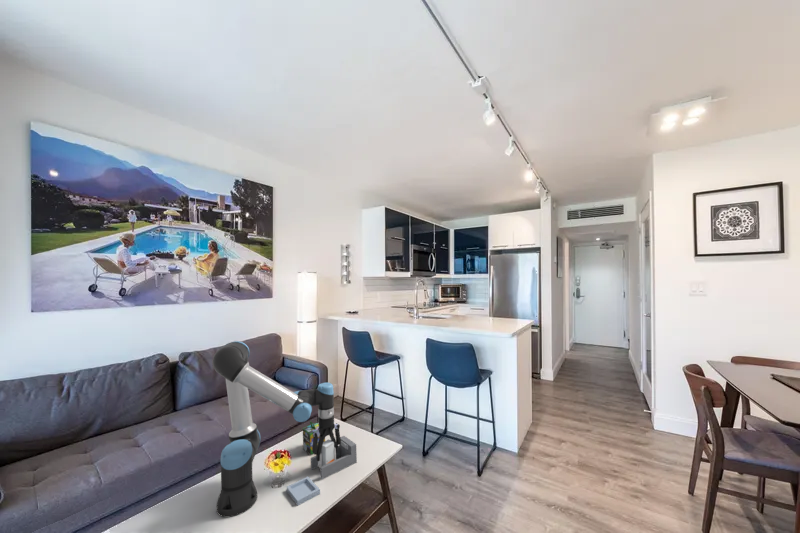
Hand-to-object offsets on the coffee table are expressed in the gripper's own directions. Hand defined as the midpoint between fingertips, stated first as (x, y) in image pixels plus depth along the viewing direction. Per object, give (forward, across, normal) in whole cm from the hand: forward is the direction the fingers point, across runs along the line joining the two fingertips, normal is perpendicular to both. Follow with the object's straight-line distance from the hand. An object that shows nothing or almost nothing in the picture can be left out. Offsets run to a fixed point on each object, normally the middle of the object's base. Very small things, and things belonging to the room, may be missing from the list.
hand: (327, 463), depth 152 cm
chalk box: (+3, +3, +21) cm, 21 cm away
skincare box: (+2, 0, 0) cm, 2 cm away
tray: (+2, -16, -8) cm, 18 cm away
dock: (+2, +4, 0) cm, 4 cm away
